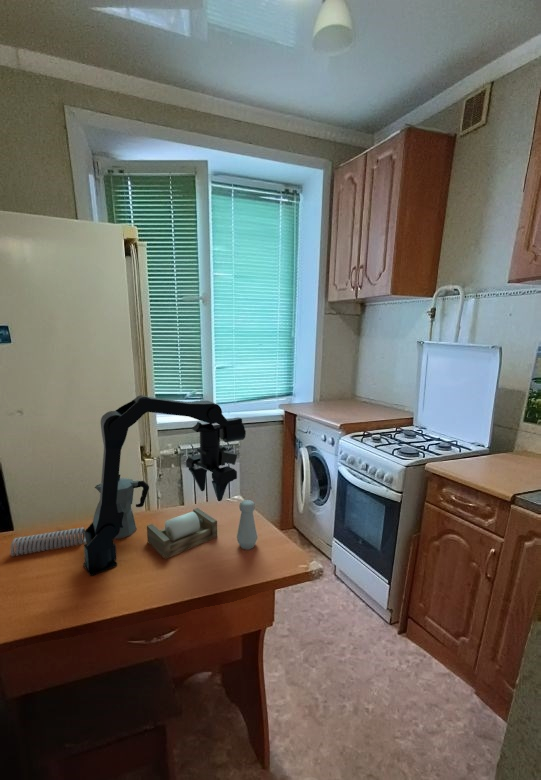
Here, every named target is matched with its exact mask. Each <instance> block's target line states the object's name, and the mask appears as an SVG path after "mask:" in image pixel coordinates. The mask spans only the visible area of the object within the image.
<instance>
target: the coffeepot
mask: <svg viewBox="0 0 541 780" xmlns="http://www.w3.org/2000/svg"><path fill="white" fill-rule="evenodd" d="M138 488H143V489H142V491H141V496H140V498H139V503H138V504H137V503H135V508H143V506H144V505H145V502H146V498H147V496H148V492H149V489H150V486H149V484H148V483H146V481H144V480H133V479H131V478H124V477H121V474H120V473H119V480H118V492H117V504H119V503H120V504H121V507H122V509H123V512H124V515H123V519H122V525H123V528H121V527H120V532H119V534H118V535H117V536H116V537H115V538H114V539H113V540H117V539H124V538H127V537H130V536H131V535H132V534H134V533H135V532H136V530H137V525H136V521H135V517H134V513H133V510H132V509H133V508H132V505H133V501H134V491H135V489H138ZM94 489H96V490H97V491H98V493H100V492H101V483H98V484H97V485H95V486H94Z"/></svg>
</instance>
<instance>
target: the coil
mask: <svg viewBox="0 0 541 780" xmlns="http://www.w3.org/2000/svg"><path fill="white" fill-rule="evenodd" d="M85 530H86V529H85V527H84V526H82V527H77V528H69V529H65V530H57V531H53V532H51V531H50V532H45V533H39V534H33V535H28V536H19V537H14V538H13V540H12V542H11V544H10V556H11V557H16V556H20V555H21V556H23V555H28V554H32V553H35V552H36V553H37V552H38V553H40V552H41V551H42V552H44V551H49V550H50V551H51V550H53V549H55V550H57V549H62V548H66V547H68V548H69V547H70V546H71V547H73V546H78V545H79V546H80V545H82V544H83V545H85V544H86V539H85V533H84V531H85ZM36 553H35V554H36ZM15 554H16V555H15Z"/></svg>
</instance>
